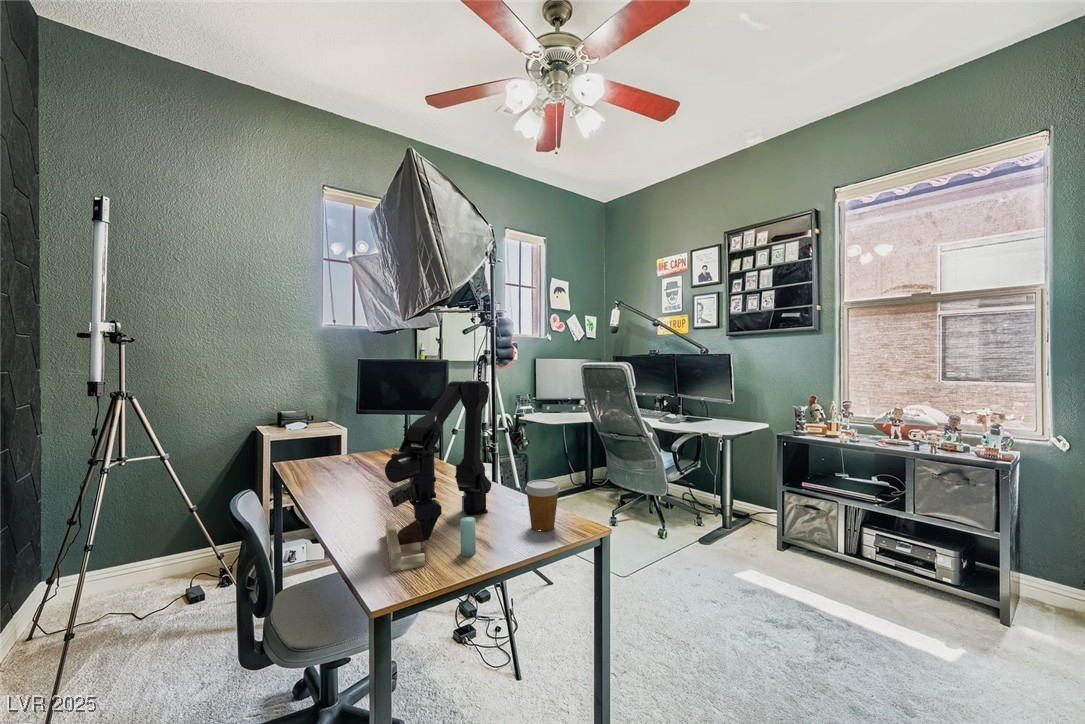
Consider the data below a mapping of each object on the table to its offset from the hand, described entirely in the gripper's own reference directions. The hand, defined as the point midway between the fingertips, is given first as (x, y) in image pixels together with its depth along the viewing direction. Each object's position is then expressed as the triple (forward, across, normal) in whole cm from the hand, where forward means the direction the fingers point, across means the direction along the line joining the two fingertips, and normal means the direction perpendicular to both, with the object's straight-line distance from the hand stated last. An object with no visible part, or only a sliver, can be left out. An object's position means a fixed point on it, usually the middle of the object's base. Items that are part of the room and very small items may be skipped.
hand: (423, 533), depth 113 cm
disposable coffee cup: (+2, +5, +31) cm, 32 cm away
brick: (+2, +1, -2) cm, 3 cm away
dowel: (+2, +13, +9) cm, 15 cm away
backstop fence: (+2, +4, -5) cm, 7 cm away
